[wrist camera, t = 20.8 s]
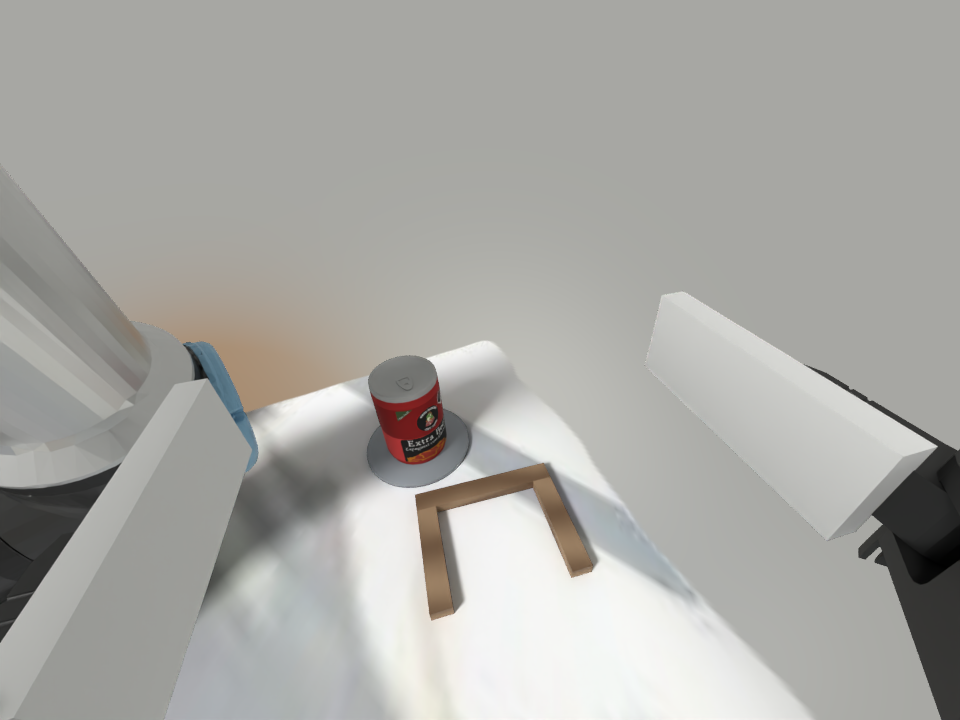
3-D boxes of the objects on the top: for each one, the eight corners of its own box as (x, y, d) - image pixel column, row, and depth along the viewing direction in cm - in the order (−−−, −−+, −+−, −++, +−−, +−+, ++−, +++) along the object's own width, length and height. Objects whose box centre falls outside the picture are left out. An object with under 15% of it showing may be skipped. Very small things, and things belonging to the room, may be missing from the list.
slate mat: (346, 466, 47) (345, 462, 46) (406, 400, 56) (406, 397, 55) (435, 503, 41) (434, 500, 41) (485, 424, 51) (485, 421, 50)
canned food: (412, 478, 44) (393, 409, 37) (375, 442, 49) (353, 376, 42) (460, 441, 48) (451, 373, 41) (422, 412, 53) (409, 347, 46)
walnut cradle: (591, 571, 35) (593, 565, 34) (431, 620, 32) (429, 614, 32) (543, 469, 44) (543, 463, 44) (416, 501, 42) (415, 494, 41)
